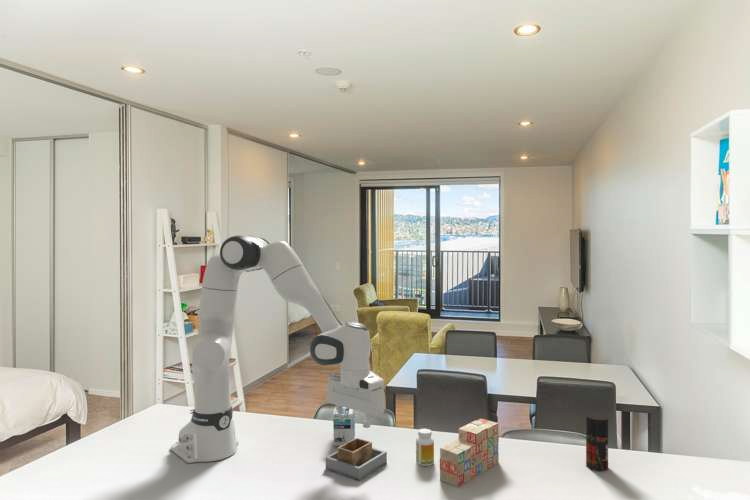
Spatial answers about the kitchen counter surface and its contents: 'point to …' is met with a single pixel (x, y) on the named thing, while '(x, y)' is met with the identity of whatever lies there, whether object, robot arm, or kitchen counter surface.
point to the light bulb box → (344, 427)
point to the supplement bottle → (424, 448)
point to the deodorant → (597, 442)
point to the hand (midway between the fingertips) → (354, 423)
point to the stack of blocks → (470, 452)
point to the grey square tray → (353, 471)
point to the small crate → (355, 452)
